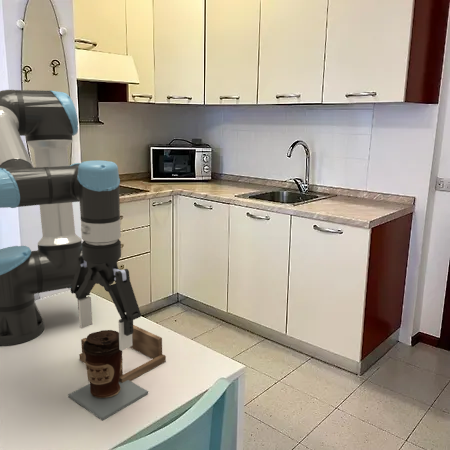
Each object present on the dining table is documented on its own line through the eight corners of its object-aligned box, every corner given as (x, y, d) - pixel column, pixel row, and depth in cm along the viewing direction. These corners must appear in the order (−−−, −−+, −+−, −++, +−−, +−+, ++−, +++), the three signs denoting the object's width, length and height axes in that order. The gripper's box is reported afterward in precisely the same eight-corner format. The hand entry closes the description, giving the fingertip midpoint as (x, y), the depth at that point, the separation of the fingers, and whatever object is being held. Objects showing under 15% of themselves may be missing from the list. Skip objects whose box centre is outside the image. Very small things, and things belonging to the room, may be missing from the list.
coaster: (68, 396, 101) (68, 394, 100) (113, 373, 110) (113, 371, 109) (102, 420, 93) (102, 417, 93) (148, 393, 102) (148, 391, 102)
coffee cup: (114, 405, 97) (112, 348, 94) (77, 400, 98) (74, 343, 95) (131, 382, 105) (129, 329, 102) (97, 377, 107) (94, 325, 104)
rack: (79, 360, 115) (78, 337, 114) (123, 340, 125) (122, 319, 124) (122, 385, 105) (121, 361, 104) (165, 361, 115) (165, 339, 114)
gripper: (49, 231, 98) (56, 323, 103) (126, 259, 82) (129, 365, 88) (80, 224, 103) (85, 312, 109) (158, 249, 88) (159, 350, 94)
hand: (105, 336), depth 98 cm, fingers open, 13 cm apart
